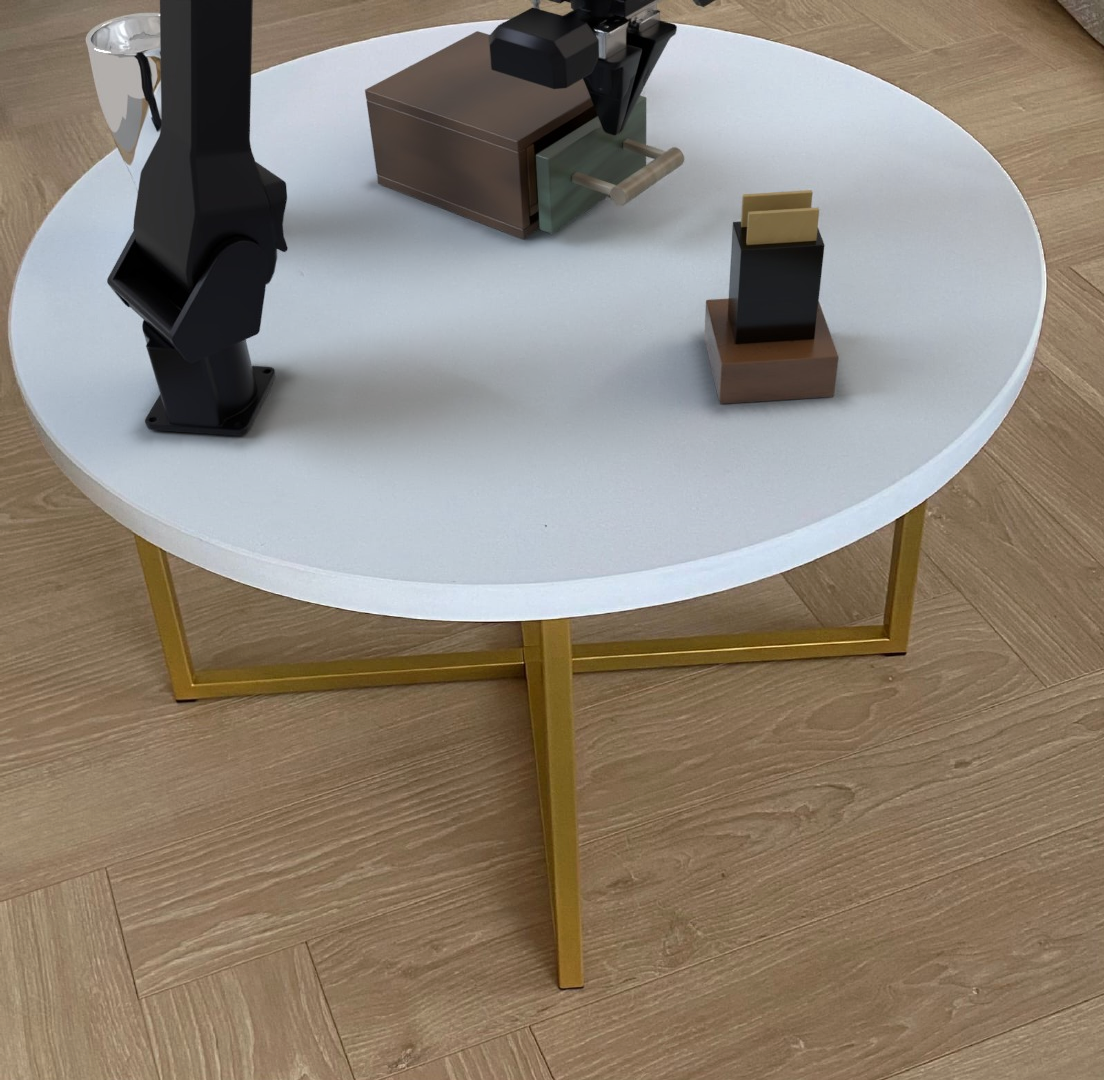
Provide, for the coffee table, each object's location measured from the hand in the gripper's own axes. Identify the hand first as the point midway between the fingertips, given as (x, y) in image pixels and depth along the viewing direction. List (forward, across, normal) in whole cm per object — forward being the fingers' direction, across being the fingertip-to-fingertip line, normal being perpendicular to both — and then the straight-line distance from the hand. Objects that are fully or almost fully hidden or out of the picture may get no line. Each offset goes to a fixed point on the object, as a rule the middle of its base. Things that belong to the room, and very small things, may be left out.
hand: (613, 132), depth 95 cm
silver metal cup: (+7, +20, -25) cm, 32 cm away
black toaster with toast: (+4, +9, +19) cm, 21 cm away
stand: (+7, +9, +19) cm, 22 cm away
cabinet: (+7, 0, -11) cm, 13 cm away
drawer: (+6, 0, -6) cm, 8 cm away
